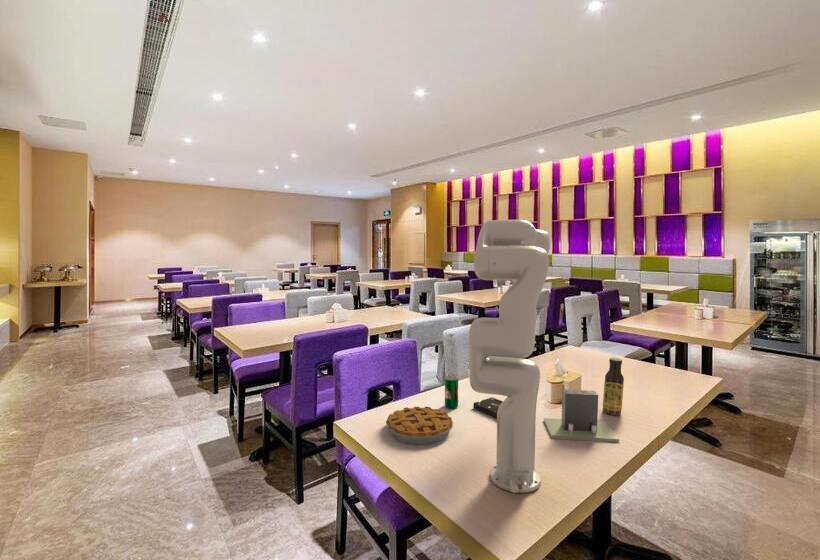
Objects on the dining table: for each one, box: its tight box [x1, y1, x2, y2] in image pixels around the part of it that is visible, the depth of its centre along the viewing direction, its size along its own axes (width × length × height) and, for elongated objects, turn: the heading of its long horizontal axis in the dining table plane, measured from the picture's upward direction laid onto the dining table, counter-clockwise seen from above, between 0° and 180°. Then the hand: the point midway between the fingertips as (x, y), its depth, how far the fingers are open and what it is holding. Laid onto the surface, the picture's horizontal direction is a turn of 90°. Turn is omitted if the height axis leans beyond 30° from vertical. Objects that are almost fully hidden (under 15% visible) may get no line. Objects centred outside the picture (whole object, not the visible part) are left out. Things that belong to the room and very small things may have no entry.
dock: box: [543, 417, 620, 443], centre depth 131 cm, size 13×20×4 cm, turn 82°
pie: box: [385, 406, 454, 445], centre depth 132 cm, size 22×22×5 cm
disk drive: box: [473, 397, 504, 420], centre depth 147 cm, size 10×3×15 cm
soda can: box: [444, 373, 459, 410], centre depth 151 cm, size 5×5×12 cm
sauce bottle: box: [602, 357, 625, 416], centre depth 145 cm, size 7×6×20 cm
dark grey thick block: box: [561, 388, 599, 432], centre depth 130 cm, size 4×10×12 cm, turn 82°
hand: (520, 320), depth 140 cm, fingers open, 9 cm apart
